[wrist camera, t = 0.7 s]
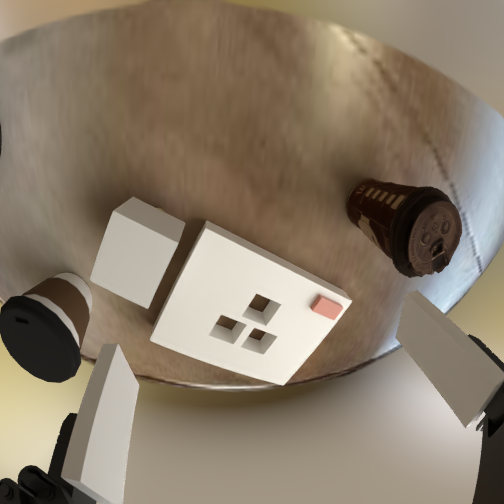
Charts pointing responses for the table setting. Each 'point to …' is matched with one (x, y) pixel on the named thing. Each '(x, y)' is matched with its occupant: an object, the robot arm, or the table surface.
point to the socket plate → (246, 308)
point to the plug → (136, 250)
